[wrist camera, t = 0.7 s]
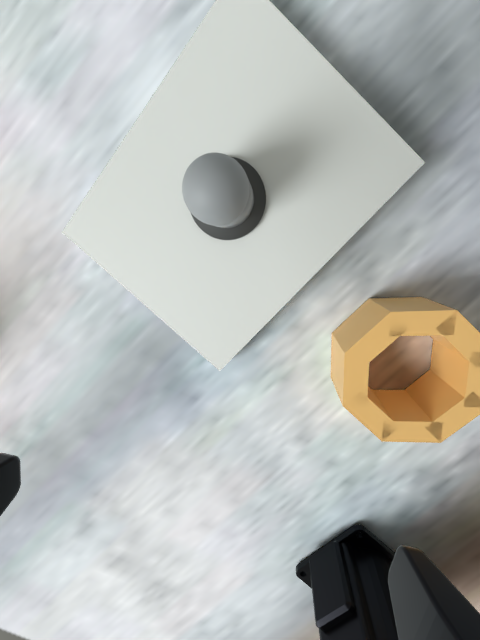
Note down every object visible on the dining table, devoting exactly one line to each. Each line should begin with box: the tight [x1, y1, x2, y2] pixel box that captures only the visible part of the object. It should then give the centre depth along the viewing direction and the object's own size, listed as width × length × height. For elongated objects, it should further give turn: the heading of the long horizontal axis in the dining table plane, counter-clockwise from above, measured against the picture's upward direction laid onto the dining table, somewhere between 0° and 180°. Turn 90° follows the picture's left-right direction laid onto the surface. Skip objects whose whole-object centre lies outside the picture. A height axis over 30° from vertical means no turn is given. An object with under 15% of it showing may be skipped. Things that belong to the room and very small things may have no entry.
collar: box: [331, 297, 480, 443], centre depth 17 cm, size 7×7×4 cm
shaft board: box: [62, 0, 425, 371], centre depth 14 cm, size 12×15×6 cm
